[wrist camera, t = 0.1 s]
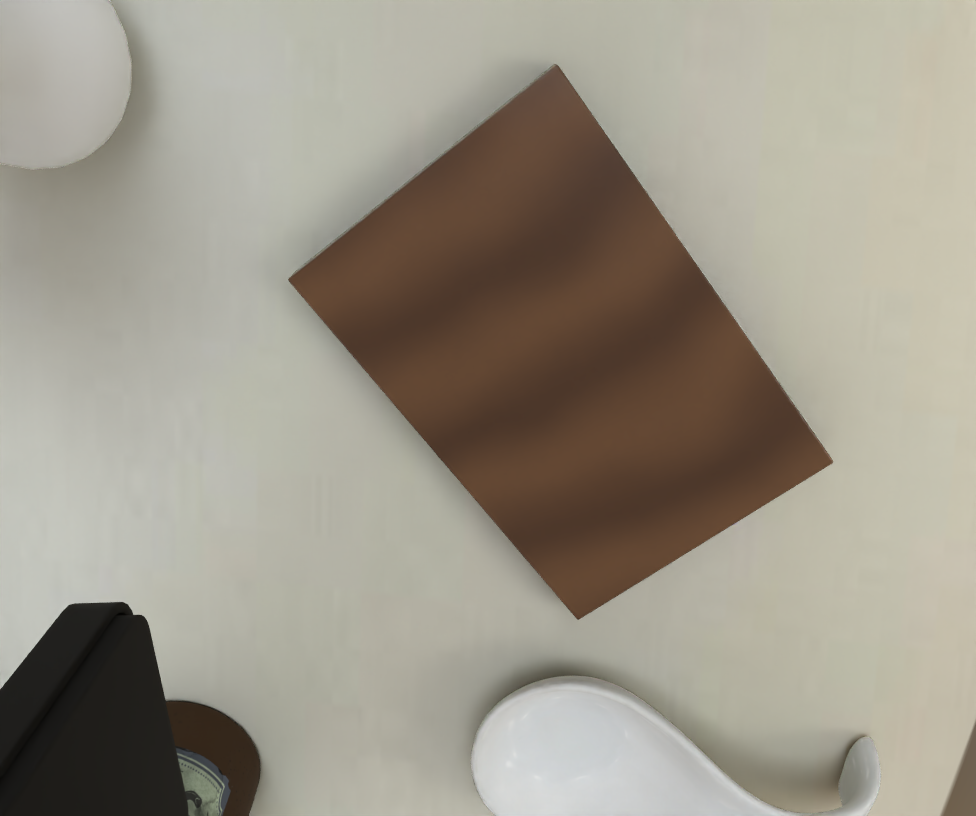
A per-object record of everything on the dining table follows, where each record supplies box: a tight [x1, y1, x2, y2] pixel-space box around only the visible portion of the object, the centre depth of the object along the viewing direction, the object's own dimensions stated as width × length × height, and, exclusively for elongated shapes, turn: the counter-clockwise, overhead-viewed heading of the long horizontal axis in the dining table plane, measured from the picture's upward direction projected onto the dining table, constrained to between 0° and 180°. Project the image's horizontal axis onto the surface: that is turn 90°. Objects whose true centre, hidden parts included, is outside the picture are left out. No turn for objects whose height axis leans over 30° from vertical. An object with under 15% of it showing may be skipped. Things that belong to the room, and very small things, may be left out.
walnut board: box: [288, 64, 833, 619], centre depth 47 cm, size 24×16×2 cm, turn 38°
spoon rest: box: [471, 676, 881, 816], centre depth 53 cm, size 24×12×7 cm, turn 84°
